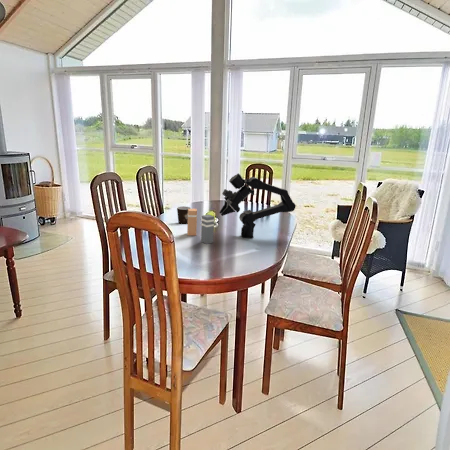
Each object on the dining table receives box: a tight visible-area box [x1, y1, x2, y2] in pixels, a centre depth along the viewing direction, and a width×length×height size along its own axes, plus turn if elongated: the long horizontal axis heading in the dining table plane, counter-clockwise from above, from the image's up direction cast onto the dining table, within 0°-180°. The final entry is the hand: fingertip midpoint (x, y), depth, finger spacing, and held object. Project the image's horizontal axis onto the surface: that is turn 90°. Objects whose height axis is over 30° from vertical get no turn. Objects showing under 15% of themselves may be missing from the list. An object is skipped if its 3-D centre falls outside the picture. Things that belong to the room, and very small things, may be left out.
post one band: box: [186, 208, 198, 236], centre depth 186 cm, size 5×5×14 cm
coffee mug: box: [176, 205, 192, 225], centre depth 213 cm, size 12×9×10 cm
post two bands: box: [200, 214, 215, 245], centre depth 175 cm, size 5×5×14 cm
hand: (220, 214), depth 188 cm, fingers open, 5 cm apart
